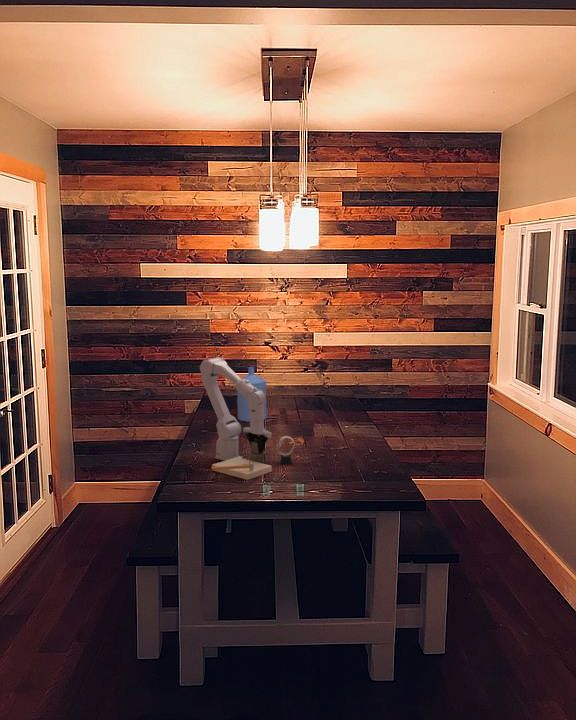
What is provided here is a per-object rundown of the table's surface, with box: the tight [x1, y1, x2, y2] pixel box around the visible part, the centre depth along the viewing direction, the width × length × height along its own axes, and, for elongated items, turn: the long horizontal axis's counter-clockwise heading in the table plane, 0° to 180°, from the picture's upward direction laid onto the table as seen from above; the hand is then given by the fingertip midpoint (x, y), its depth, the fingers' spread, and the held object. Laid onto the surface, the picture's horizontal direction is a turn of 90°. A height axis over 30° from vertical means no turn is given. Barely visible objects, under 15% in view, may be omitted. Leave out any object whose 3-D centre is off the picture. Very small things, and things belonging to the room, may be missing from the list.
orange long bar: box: [211, 463, 254, 471], centre depth 270 cm, size 16×2×2 cm, turn 100°
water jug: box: [236, 366, 268, 423], centre depth 368 cm, size 16×16×28 cm
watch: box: [275, 435, 296, 465], centre depth 289 cm, size 6×8×11 cm
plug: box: [247, 438, 269, 463], centre depth 288 cm, size 6×6×10 cm
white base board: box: [211, 457, 273, 481], centre depth 279 cm, size 20×14×2 cm
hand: (257, 451), depth 288 cm, fingers closed on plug, 3 cm apart
